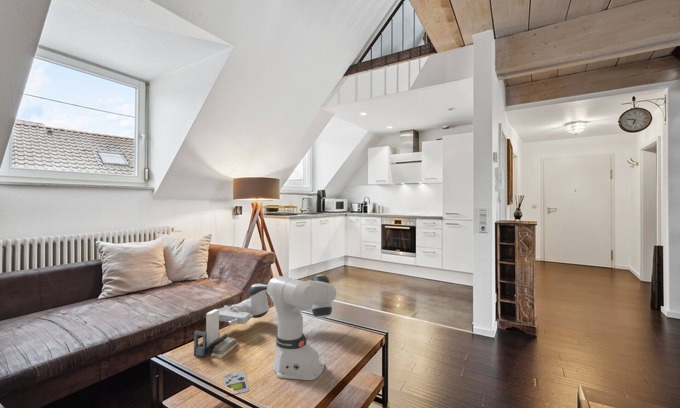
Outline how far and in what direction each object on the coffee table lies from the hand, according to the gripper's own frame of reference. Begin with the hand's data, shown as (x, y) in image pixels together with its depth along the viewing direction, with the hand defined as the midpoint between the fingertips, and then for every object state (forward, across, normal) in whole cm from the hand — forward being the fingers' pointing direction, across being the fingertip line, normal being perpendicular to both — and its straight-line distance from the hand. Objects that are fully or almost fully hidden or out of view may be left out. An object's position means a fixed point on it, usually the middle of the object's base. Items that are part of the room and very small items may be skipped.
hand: (221, 322), depth 156 cm
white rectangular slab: (+8, 0, -10) cm, 12 cm away
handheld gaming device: (+28, -28, -10) cm, 41 cm away
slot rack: (+8, 0, -10) cm, 12 cm away
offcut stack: (+8, -8, -10) cm, 15 cm away
